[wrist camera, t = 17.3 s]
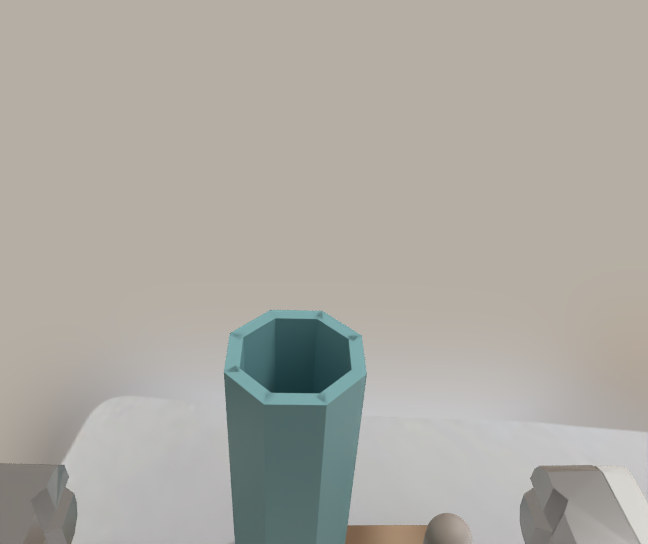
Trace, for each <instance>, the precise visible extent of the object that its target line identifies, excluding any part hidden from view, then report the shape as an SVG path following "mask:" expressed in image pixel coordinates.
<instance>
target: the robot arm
mask: <svg viewBox="0 0 648 544" xmlns="http://www.w3.org/2000/svg"><path fill="white" fill-rule="evenodd" d="M68 478H69V476H68V473H67V471H66V468H65V466H64V465H47V464H5V463H4V464H3V463H0V544H71V542H72V539H73V536H74V533H75V526H76V520H77V502H76V499H75V495H74V493H73V492H71V491H70V490H69V489H67V488H66V487H65V486H66V483H67V481H68ZM530 479H531V482H532V484H533V487H534V488H532V489H531V490H529V491H528V492H526V493H525V494H524V496H523V499H522V502H521V505H520V525H521V530H522V535H523V538H524V541H525V544H648V503H647V501H646V499H645V497H644V496H643V494H642V492H641V490H640V489H639V487H638V485H637V483H636V481H635V480H634V478H633V476H632V474H631V473H630V471H628V470H627V469H626V468H625V467H623V466H592V465H572V466H539V467H537V468H536V469H534V471H533V474H532V476H531V478H530Z"/></svg>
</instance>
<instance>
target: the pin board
mask: <svg viewBox="0 0 648 544" xmlns="http://www.w3.org/2000/svg"><path fill="white" fill-rule="evenodd" d="M345 544H472V534H471V531H470V528H469V527H468V525H467V523H466V522H465V521H464V520H463V519H462V518H460V517H459V516H457V515H454V514H450V513H443V514H440V515H437V516H436V517H434V518H433V519H432V520H431V521H430V523H429V524H428V525H366V526H347V532H346V540H345Z"/></svg>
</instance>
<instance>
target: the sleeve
mask: <svg viewBox="0 0 648 544" xmlns="http://www.w3.org/2000/svg"><path fill="white" fill-rule="evenodd" d="M366 375H367V373H366V365H365V357H364V350H363V342H362V336H361V335H360V334H358V333H357V332H355V331H354V330H352V329H350V328H349V327H347V326H346V325H344V324H342V323H341V322H339V321H337V320H336V319H334V318H333V317H331V316H330V315H328V314H326V313H325V312H323V311H298V310H297V311H296V310H270V311H268V312H267V313H264V314H263V315H261V316H259V317H257V318H256V319H254V320H252V321H250V322H249V323H247V324H245V325H243V326H242V327H240V328H238V329H237V330H235V331H233V332H231V333H230V337H229V343H228V350H227V356H226V363H225V369H224V379H225V396H226V411H227V427H228V442H229V458H230V473H231V489H232V504H233V520H234V535H235V544H345V540H346V532H347V524H348V517H349V509H350V501H351V493H352V485H353V477H354V470H355V462H356V454H357V446H358V438H359V430H360V423H361V415H362V407H363V399H364V391H365V383H366Z"/></svg>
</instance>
